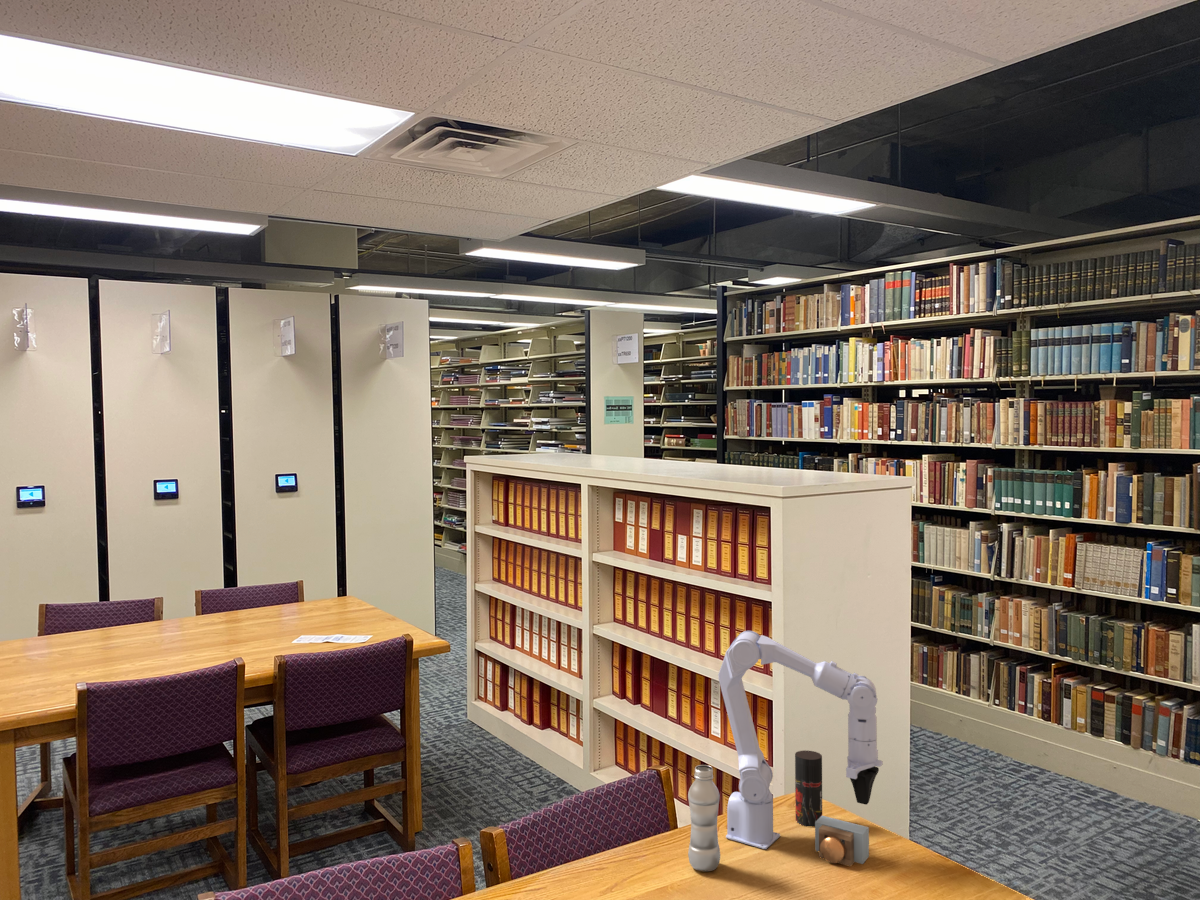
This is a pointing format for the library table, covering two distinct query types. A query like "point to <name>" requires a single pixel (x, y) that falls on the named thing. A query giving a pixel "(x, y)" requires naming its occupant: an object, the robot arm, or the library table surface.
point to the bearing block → (859, 831)
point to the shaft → (833, 849)
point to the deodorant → (808, 787)
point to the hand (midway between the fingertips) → (862, 802)
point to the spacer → (841, 834)
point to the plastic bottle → (704, 820)
